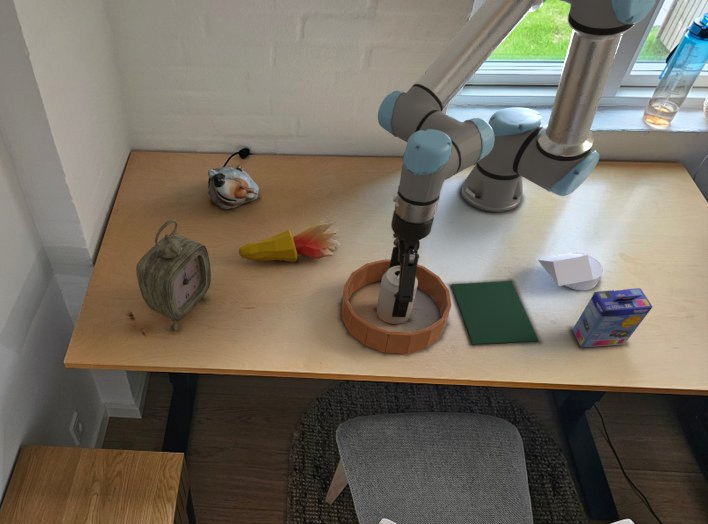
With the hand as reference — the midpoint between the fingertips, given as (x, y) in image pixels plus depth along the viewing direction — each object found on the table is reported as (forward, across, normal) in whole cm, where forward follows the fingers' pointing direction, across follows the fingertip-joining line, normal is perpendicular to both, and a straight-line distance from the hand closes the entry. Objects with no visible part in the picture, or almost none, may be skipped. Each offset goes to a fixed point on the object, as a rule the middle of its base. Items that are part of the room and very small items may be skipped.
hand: (396, 292), depth 128 cm
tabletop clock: (+8, +2, -48) cm, 48 cm away
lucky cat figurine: (+7, -39, -40) cm, 56 cm away
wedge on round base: (+7, -14, +41) cm, 44 cm away
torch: (+7, -18, -24) cm, 31 cm away
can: (+7, 0, 0) cm, 7 cm away
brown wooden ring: (+7, 0, 0) cm, 7 cm away
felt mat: (+7, -2, +22) cm, 23 cm away
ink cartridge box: (+7, +4, +43) cm, 44 cm away
